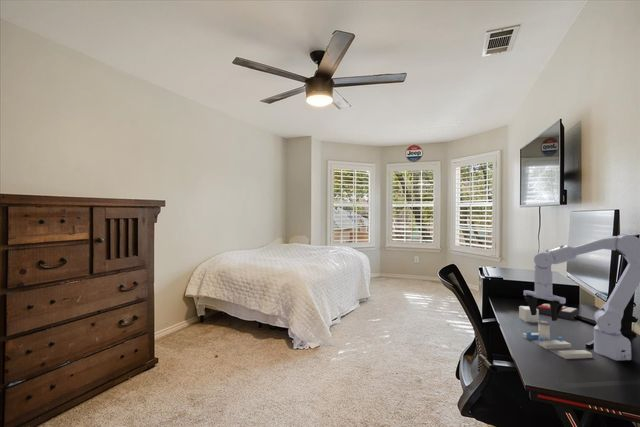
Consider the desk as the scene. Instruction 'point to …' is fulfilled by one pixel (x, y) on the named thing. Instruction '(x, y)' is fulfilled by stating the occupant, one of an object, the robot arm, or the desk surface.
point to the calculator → (564, 312)
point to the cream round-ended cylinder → (544, 330)
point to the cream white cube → (528, 314)
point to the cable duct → (557, 346)
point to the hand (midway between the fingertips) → (543, 317)
